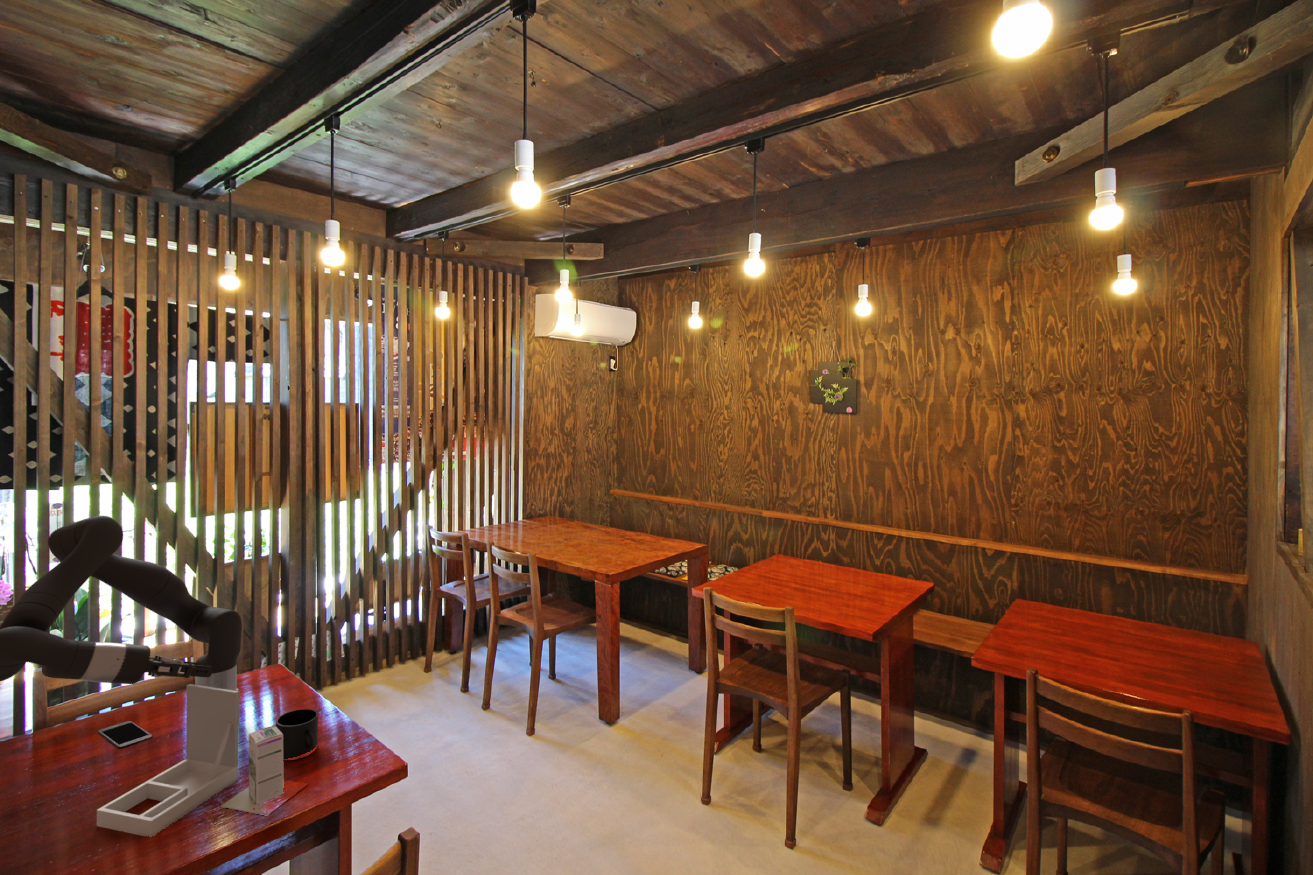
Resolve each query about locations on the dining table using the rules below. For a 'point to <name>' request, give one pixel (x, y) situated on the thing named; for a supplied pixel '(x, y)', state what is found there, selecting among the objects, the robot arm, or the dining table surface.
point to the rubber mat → (243, 803)
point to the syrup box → (266, 764)
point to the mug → (298, 731)
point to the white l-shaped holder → (186, 767)
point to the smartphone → (125, 734)
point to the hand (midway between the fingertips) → (204, 669)
